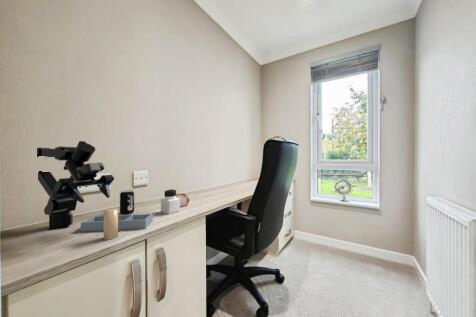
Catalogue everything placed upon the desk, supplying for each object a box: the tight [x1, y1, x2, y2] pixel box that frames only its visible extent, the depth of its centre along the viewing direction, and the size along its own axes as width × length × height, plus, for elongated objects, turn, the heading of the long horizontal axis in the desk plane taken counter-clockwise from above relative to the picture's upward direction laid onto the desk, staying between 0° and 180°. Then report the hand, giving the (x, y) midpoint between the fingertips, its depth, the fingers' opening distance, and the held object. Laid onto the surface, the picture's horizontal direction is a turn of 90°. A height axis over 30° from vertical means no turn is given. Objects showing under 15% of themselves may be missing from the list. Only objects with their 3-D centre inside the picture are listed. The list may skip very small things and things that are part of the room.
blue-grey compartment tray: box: [80, 213, 154, 233], centre depth 80 cm, size 25×9×4 cm, turn 97°
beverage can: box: [119, 189, 135, 215], centre depth 100 cm, size 7×7×12 cm
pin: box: [103, 208, 119, 241], centre depth 69 cm, size 4×4×10 cm
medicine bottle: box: [160, 188, 181, 215], centre depth 102 cm, size 7×7×12 cm
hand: (96, 199), depth 72 cm, fingers open, 9 cm apart
